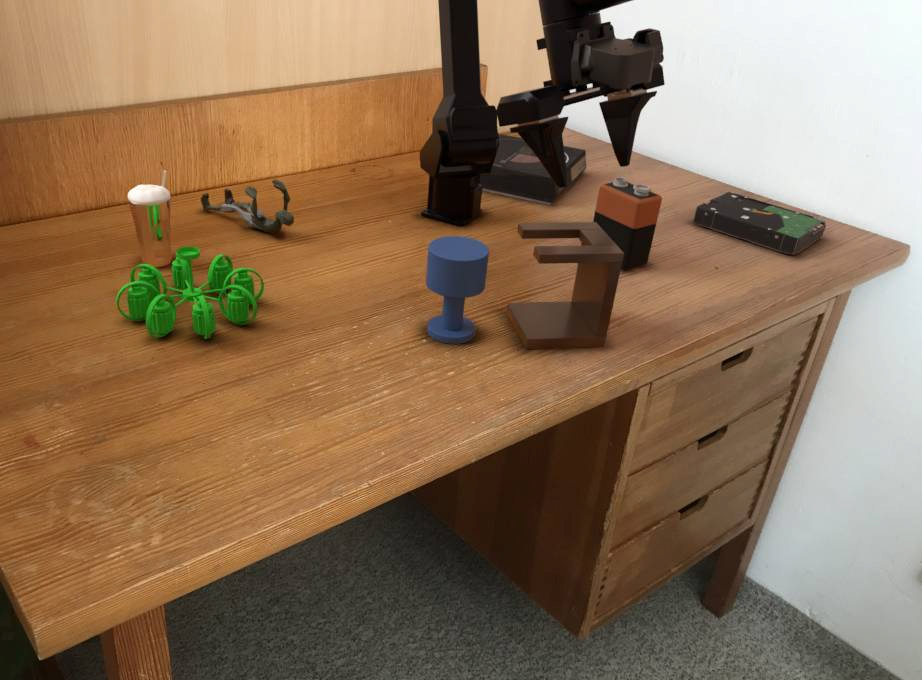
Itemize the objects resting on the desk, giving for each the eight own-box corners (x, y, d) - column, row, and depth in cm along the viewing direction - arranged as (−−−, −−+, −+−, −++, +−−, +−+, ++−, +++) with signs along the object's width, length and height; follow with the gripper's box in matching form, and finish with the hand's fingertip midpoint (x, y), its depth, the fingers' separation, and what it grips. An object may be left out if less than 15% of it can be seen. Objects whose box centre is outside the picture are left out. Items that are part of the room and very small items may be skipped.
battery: (624, 272, 101) (641, 194, 96) (585, 252, 106) (599, 176, 100) (648, 265, 103) (666, 188, 98) (609, 246, 108) (624, 171, 103)
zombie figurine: (229, 155, 109) (304, 187, 101) (231, 204, 113) (303, 239, 105) (195, 162, 106) (269, 196, 98) (198, 212, 109) (270, 249, 101)
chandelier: (110, 291, 89) (100, 231, 85) (246, 273, 95) (243, 216, 91) (130, 359, 78) (120, 293, 74) (284, 334, 84) (282, 272, 80)
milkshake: (190, 256, 98) (181, 174, 92) (160, 273, 94) (149, 188, 88) (159, 248, 99) (149, 167, 94) (128, 264, 95) (116, 180, 90)
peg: (411, 335, 85) (417, 250, 80) (439, 313, 89) (446, 231, 84) (462, 352, 83) (471, 266, 77) (489, 329, 87) (499, 245, 82)
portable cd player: (554, 206, 119) (558, 179, 117) (447, 183, 125) (449, 157, 123) (585, 175, 132) (589, 150, 130) (486, 155, 138) (488, 131, 136)
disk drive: (691, 225, 116) (794, 257, 108) (695, 206, 115) (800, 237, 107) (723, 208, 123) (822, 237, 115) (727, 190, 122) (829, 218, 113)
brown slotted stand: (525, 349, 84) (540, 254, 78) (506, 312, 90) (517, 222, 85) (604, 346, 85) (624, 253, 80) (579, 310, 92) (596, 221, 86)
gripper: (557, 17, 71) (585, 197, 76) (698, -12, 80) (715, 151, 85) (480, 41, 80) (509, 199, 85) (613, 12, 89) (633, 158, 94)
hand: (594, 176), depth 87 cm, fingers open, 9 cm apart
